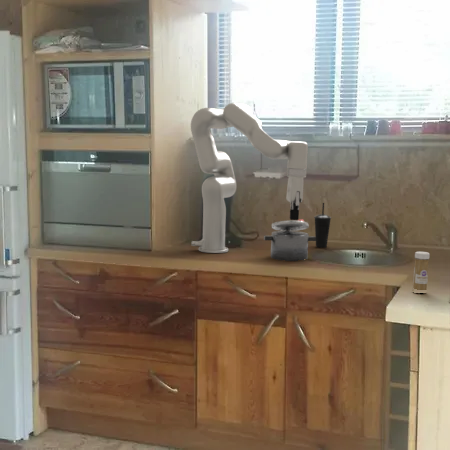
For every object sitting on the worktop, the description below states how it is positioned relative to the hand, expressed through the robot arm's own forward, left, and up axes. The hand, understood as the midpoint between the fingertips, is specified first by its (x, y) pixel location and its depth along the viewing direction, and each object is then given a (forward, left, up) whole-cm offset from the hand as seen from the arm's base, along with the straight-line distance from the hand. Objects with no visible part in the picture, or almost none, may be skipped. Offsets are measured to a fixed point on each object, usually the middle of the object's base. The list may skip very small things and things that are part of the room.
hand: (294, 219), depth 277 cm
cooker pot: (0, +8, -17) cm, 19 cm away
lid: (0, +9, -4) cm, 10 cm away
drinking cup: (+20, +37, -17) cm, 45 cm away
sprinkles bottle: (+32, -53, -17) cm, 64 cm away
